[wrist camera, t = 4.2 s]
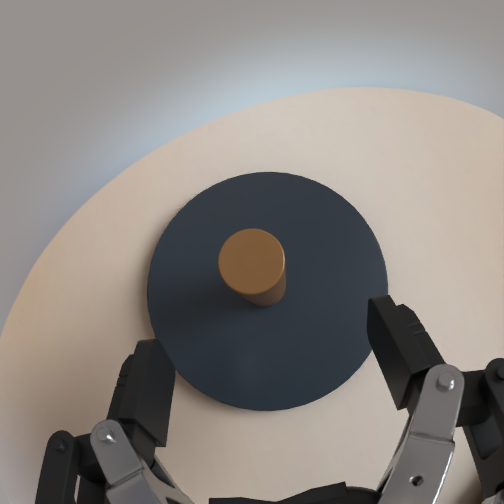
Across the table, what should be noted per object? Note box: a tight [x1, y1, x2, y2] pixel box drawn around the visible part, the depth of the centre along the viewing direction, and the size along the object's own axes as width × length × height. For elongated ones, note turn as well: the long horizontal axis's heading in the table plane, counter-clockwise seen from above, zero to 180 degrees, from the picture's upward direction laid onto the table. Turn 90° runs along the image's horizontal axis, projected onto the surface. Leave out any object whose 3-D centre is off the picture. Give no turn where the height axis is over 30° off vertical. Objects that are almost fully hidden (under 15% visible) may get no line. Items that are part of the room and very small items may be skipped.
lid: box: [147, 172, 388, 411], centre depth 15 cm, size 16×16×8 cm
